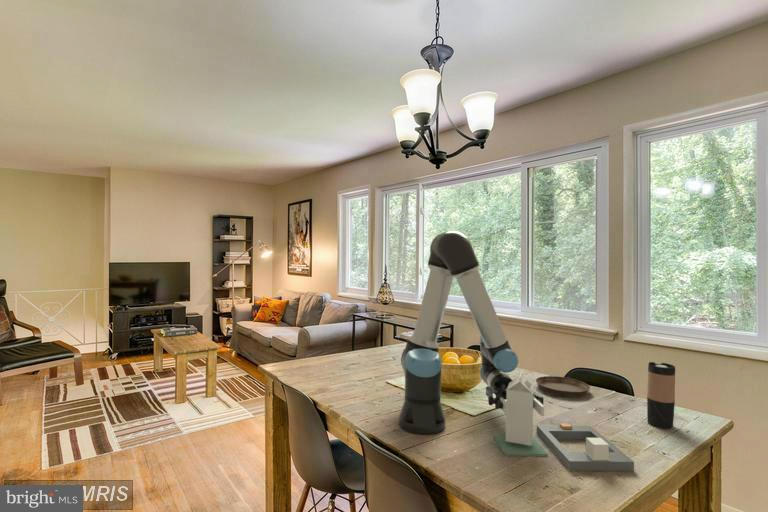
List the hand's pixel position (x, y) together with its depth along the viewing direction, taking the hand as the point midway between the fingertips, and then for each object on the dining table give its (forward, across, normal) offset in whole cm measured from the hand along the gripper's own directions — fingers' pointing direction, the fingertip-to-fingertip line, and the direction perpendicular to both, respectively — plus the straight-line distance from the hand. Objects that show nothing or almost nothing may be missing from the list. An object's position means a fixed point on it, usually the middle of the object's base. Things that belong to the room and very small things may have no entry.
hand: (525, 411), depth 115 cm
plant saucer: (-53, -35, -12) cm, 65 cm away
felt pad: (-4, 0, -12) cm, 13 cm away
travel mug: (-20, -53, -12) cm, 58 cm away
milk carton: (-4, 0, -10) cm, 11 cm away
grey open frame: (-2, -17, -12) cm, 21 cm away
